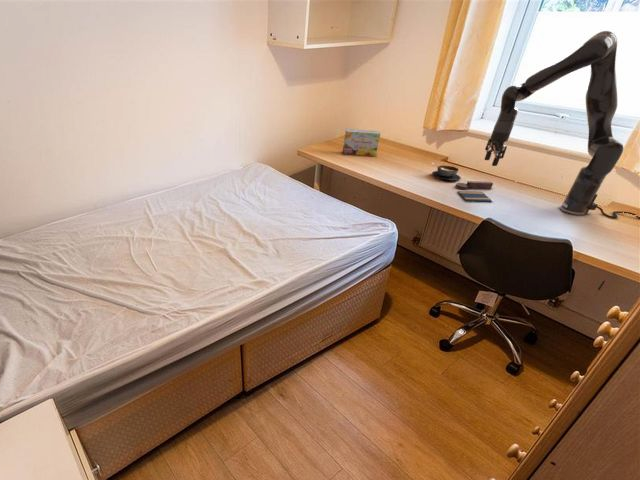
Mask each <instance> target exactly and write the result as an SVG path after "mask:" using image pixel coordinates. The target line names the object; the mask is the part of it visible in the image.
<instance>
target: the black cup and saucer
mask: <svg viewBox="0 0 640 480" xmlns="http://www.w3.org/2000/svg"><path fill="white" fill-rule="evenodd" d="M431 164H433V165H435V166H436V167H437V170H434V171H432V172H431V175H432V176H433V177H435V179H440V180H445V181H458V180H461V179H462V177H461V176H460V175H458V172H459V168H458V167H455V166H453V165H437V164H435V163H434V162H431Z"/></svg>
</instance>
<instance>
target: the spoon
mask: <svg viewBox="0 0 640 480" xmlns="http://www.w3.org/2000/svg"><path fill="white" fill-rule="evenodd" d="M493 185H494V183H493V182H492V181H479V180H478V181H475V180H468V181H467V182H466V183H465V182H457V183H456V184H455V188H456V189H458V190H461V191H465V190H466V191H467V190H468V189H471V190H472V189H473V190H474V189H475V190H478V189H479V190H492V187H493Z"/></svg>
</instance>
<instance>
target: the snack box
mask: <svg viewBox="0 0 640 480" xmlns="http://www.w3.org/2000/svg"><path fill="white" fill-rule="evenodd" d="M380 137H381V131H379V130H365V129H352V128H346V129H345V132H344V139H343V147H342V155H351V156H361V157H362V156H363V157H372V158H373V157H375V158H376V157H377V153H378V148H379V144H380V143H379V142H380Z"/></svg>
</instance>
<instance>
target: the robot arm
mask: <svg viewBox="0 0 640 480" xmlns="http://www.w3.org/2000/svg"><path fill="white" fill-rule="evenodd" d="M617 49H618V38H617V35H616V34H615V33H614V32H612V31H610V30H603V31H600V32H598V33H595V34H594V35H593V36H591V37H590V38H589V39H588V40H586V41H585V42H584V43H583V44H582V45H581V46H580V47H579V48H577V49H576V50H575V51H573V52H572V53H571V54H570V55H568V56H567V57H565V58H563V59H561V60H559V61H557V62H555V63H552V64H551V65H548V66H546V67H545V68H543V69H541V70H539V71H537V72H536V73H534V74H532V75H530V76H529V77H528V78H527V79H525V81H524V82H523V83H521V84H516V85H510V86H508V87H507V88H506V89H504V91H503V93H502V96H501V102H500V111H499V114H498V117H497V120H496V122H495V124H494V126H493V130H492V132H491V135H490V138H489V139H488V140H487V143H486V146H485V148H484V150H485V152H486V153H485V156H484V160H485V161H490V159H491V157H492V153H493V155H494V158H493V161H492V163H491V166H493V167H497V166H498V164H499V161H500V159H504V157H505V154H506V152H507V147H508V146H507V145H504V144H505V142H508V141H509V138H510V135H511V133H512V131H513V128H514V124H515V121H516V118H517V115H518V113H519V109H518V108H517V107H516V103H517V102H521V101H524V100H526V99H527V98H529V97H530V96H532V95H533V94H535V93H536V92H537V91H539V90H541V89H544V88H545V87H547V86H549V85H551V84H552V83H554V82H556V81H558V80H560V79H561V78H563V77H565V76H567V75H569V74H572V73H574V72H576V71H578V70H581V69H584V68H586V67H588V66H590V75H589V76H590V77H589V81H588V84H587V86H586V87H587V88H586V93H585V109H586V110H585V111H586V120H587V127H588V138H587V153H588V155H589V157H591V160H590V161H589V162H588V164H587V165H585V166H582V167H581V168H580V170H579V172H578V174H577V175H576V177H575V179H574V181H573V183H572V185H571V187H570V189H569V191H568V193H567V194H566V196H565V198H564V201H562V203H561V205H560V207H559V209H560V210H561V211H563V212H564V213H567V214H570V215H574V216H583V215H588V214H589V211H595V210H597V209H598V210H600V213H601V214H602V215H603V216H605V217H608V218H610V219H617V218H618V215H617V214H627V213H628V214H627V215H631V214H632V216H634V215H637V214H636V213H634V212H630V211H621V210H620V211H619V210H615V211H613V212H612V215H609V214H607V213H605V212H604V210H603V208H602V207H600V206H598V204H597V203H595V201H596V199H597V197H598V194H597V193H598V191H599V190H600V188H601V186H602V184H603V182H604V180H605V179H606V177H607V175H609V174H610V173H611V172H612V171H613V169H614V168H615V166H616V165H617V163H618V162H619V160H620V158H621V156H622V154H623V152H624V145H623V143H622V142H620V141H618V140H616V139H615V138H614V136H613V129H612V121H613V118H614V116H615V115H616V111H617V108H618V87H617V71H616V62H617V61H616V59H617ZM623 212H624V213H623ZM638 216H639V215H638ZM638 216H635V218H637V219H638V220H640V216H639V217H638ZM605 282H606V280H603V281H602V283H601V284H599V286H598V288H597V291H600V290H601V288H603V285H604V284H605Z"/></svg>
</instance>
